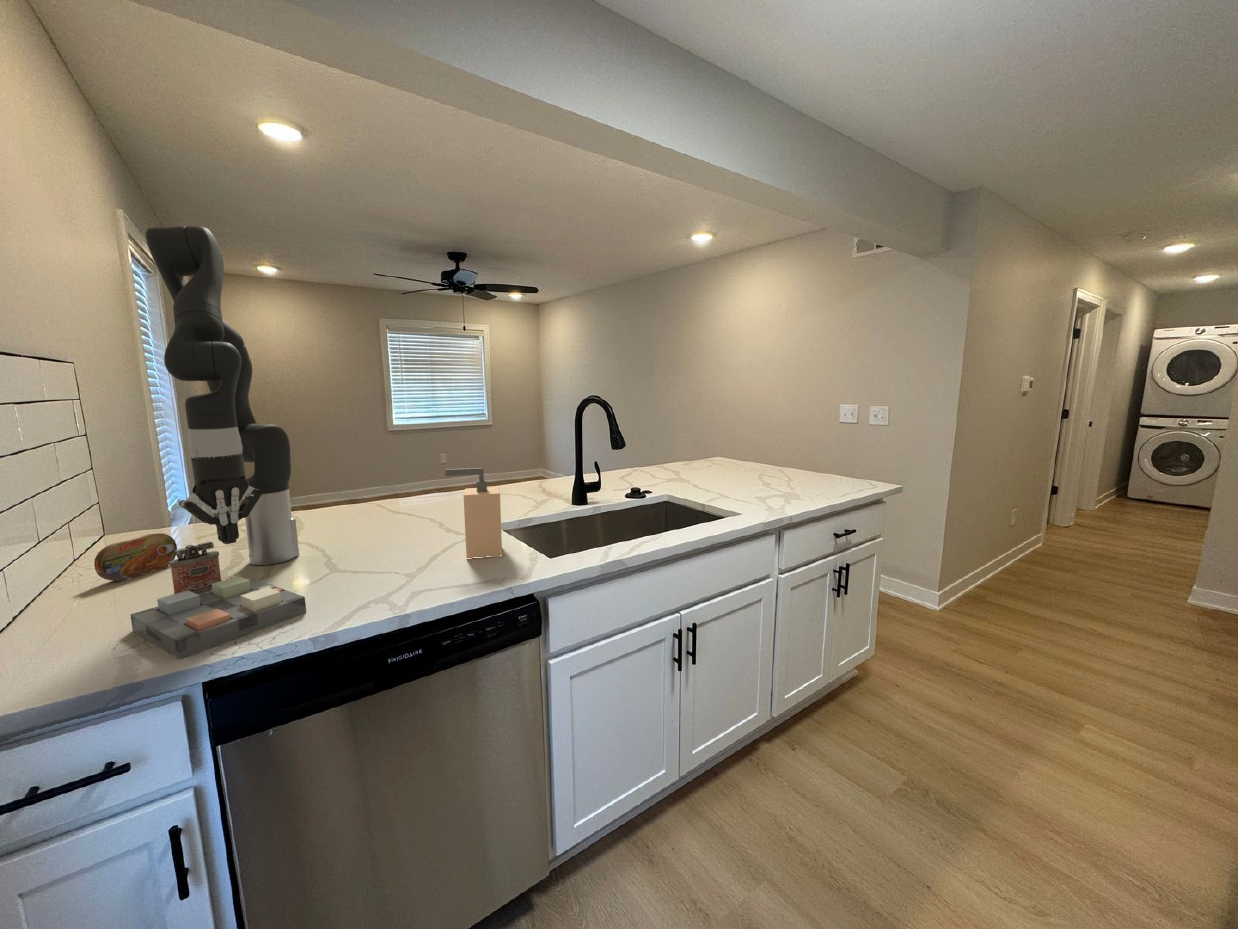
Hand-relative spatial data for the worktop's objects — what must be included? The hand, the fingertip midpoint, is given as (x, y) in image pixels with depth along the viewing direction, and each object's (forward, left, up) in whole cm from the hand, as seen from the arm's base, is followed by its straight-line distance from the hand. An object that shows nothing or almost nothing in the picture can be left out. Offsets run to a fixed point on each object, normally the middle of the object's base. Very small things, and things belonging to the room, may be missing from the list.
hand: (229, 542), depth 95 cm
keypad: (+4, +5, -13) cm, 14 cm away
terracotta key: (+8, +11, -11) cm, 18 cm away
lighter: (0, -15, -13) cm, 20 cm away
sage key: (0, 0, -10) cm, 10 cm away
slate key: (+8, 0, -10) cm, 13 cm away
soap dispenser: (-46, +17, -13) cm, 50 cm away
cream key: (0, +11, -10) cm, 15 cm away
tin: (+2, -39, -13) cm, 41 cm away
